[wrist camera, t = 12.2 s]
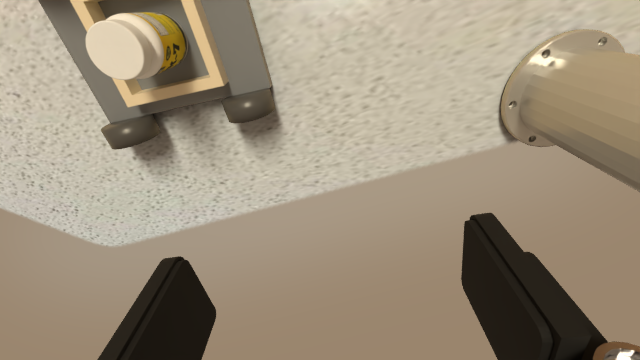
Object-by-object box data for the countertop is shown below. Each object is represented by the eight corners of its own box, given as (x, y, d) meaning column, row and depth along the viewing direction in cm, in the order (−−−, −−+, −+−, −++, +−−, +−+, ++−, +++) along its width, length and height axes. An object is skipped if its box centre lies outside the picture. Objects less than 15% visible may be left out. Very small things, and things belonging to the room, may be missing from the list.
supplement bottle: (172, 76, 30) (129, 99, 23) (128, 41, 29) (66, 53, 21) (199, 39, 29) (161, 50, 21) (153, -1, 27) (96, -3, 20)
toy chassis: (221, -97, 25) (203, -118, 21) (277, 102, 34) (272, 116, 29) (26, -43, 26) (-29, -53, 22) (127, 134, 35) (101, 153, 31)
